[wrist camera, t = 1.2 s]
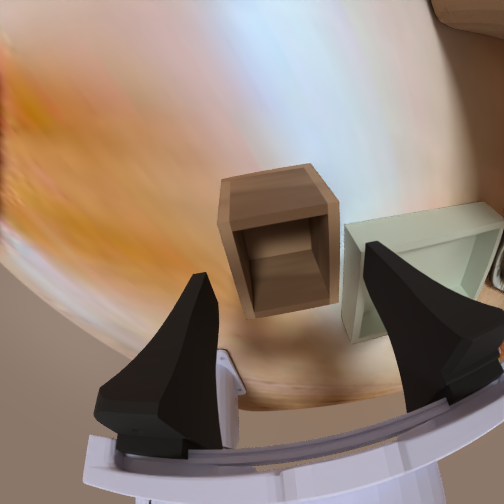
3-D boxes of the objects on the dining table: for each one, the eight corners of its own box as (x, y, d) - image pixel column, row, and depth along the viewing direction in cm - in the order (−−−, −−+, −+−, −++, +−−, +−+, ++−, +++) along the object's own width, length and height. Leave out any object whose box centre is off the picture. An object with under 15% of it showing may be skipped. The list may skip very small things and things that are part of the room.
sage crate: (459, 283, 22) (474, 304, 19) (341, 316, 23) (350, 344, 20) (483, 201, 16) (506, 220, 14) (344, 224, 17) (361, 252, 15)
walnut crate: (317, 248, 18) (338, 302, 14) (243, 261, 19) (246, 319, 15) (309, 162, 15) (339, 201, 11) (221, 178, 15) (217, 223, 11)
